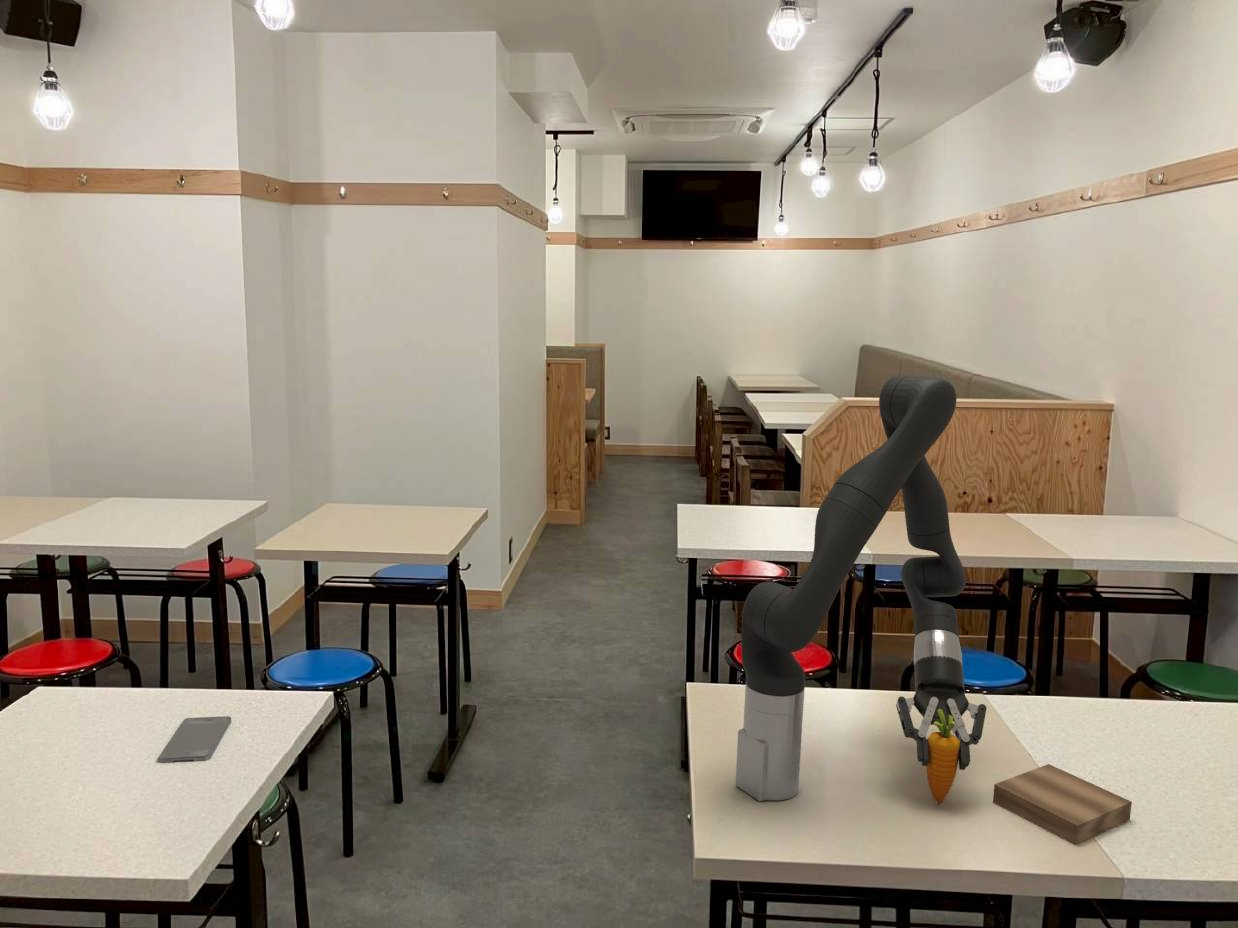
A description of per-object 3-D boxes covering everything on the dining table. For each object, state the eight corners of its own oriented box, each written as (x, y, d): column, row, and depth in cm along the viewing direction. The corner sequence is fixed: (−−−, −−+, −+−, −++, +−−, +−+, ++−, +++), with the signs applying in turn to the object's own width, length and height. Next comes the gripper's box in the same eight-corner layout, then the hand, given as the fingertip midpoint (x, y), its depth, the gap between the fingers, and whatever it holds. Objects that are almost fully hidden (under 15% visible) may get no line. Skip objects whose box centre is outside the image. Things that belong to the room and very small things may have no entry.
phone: (156, 766, 154) (156, 758, 154) (184, 724, 170) (184, 717, 170) (209, 763, 156) (209, 756, 155) (232, 722, 171) (232, 715, 171)
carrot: (957, 813, 145) (965, 721, 143) (923, 809, 146) (931, 717, 144) (952, 797, 150) (960, 708, 148) (920, 793, 151) (927, 704, 149)
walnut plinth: (1075, 844, 137) (1077, 825, 137) (992, 801, 149) (994, 784, 149) (1129, 819, 145) (1131, 801, 144) (1046, 780, 157) (1048, 763, 156)
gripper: (896, 650, 153) (899, 753, 143) (988, 658, 151) (998, 763, 141) (890, 669, 159) (892, 769, 149) (979, 677, 157) (988, 779, 147)
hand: (944, 765), depth 145 cm, fingers closed on carrot, 5 cm apart
